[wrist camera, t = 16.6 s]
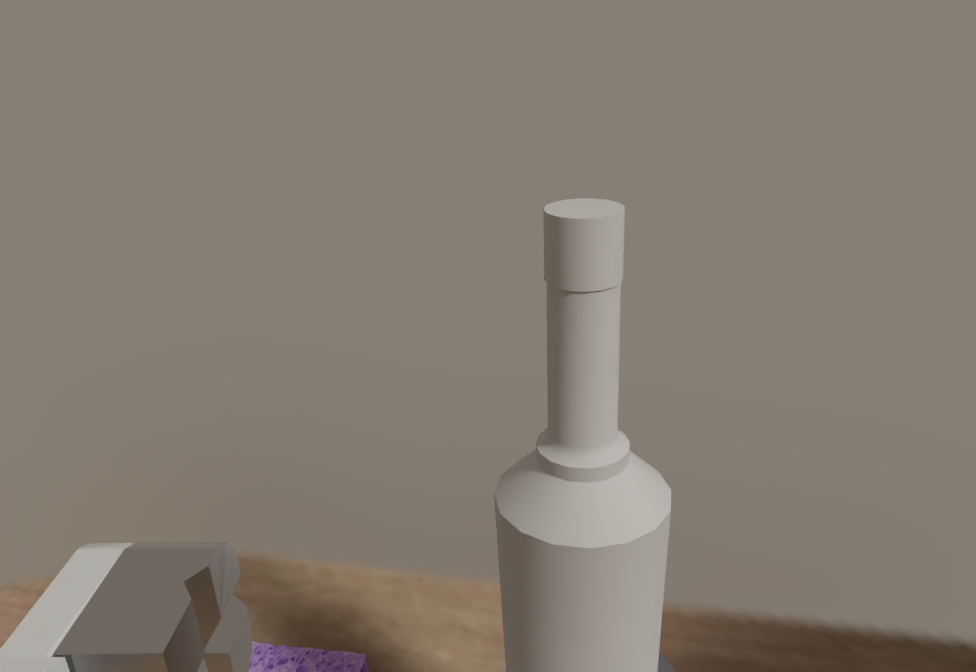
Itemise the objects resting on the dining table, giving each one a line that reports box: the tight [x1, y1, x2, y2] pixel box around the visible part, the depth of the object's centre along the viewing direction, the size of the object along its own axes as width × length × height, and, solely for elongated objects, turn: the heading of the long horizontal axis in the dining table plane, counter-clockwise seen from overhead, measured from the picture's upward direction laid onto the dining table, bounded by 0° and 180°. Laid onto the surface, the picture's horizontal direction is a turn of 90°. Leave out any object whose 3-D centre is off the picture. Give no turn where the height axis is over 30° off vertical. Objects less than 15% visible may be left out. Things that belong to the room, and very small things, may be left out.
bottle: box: [494, 198, 671, 672], centre depth 25 cm, size 5×5×25 cm
